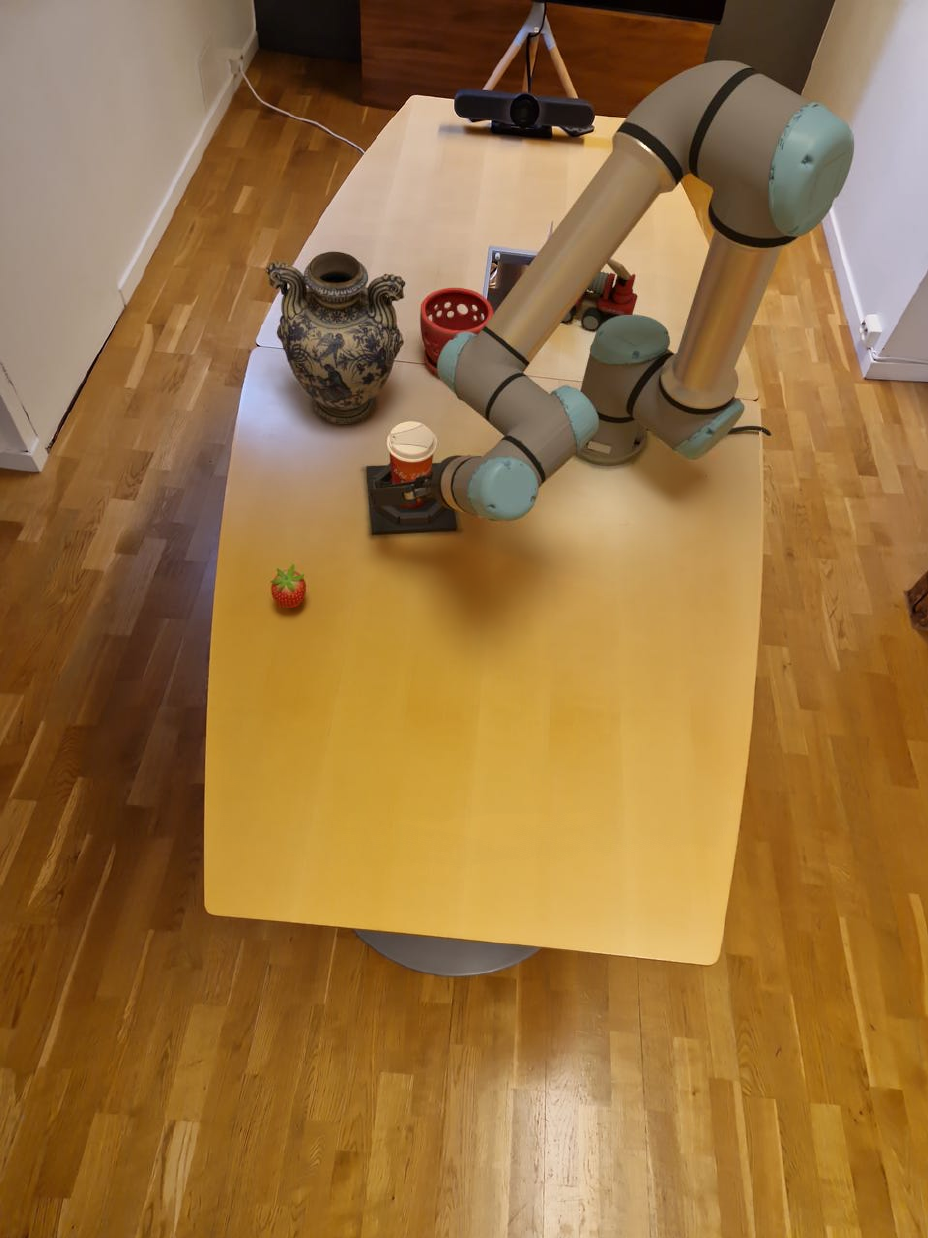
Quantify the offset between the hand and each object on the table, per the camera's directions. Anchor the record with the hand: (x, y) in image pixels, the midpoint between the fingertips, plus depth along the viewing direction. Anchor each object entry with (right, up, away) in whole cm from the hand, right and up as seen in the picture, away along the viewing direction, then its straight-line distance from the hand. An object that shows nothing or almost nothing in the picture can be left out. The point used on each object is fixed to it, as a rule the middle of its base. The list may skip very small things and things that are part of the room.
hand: (419, 477), depth 128 cm
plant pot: (+5, +27, +27) cm, 38 cm away
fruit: (-19, -20, -3) cm, 28 cm away
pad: (-2, -2, +9) cm, 9 cm away
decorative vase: (-15, +17, +19) cm, 29 cm away
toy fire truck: (+32, +37, +35) cm, 61 cm away
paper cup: (-2, -2, +8) cm, 8 cm away
